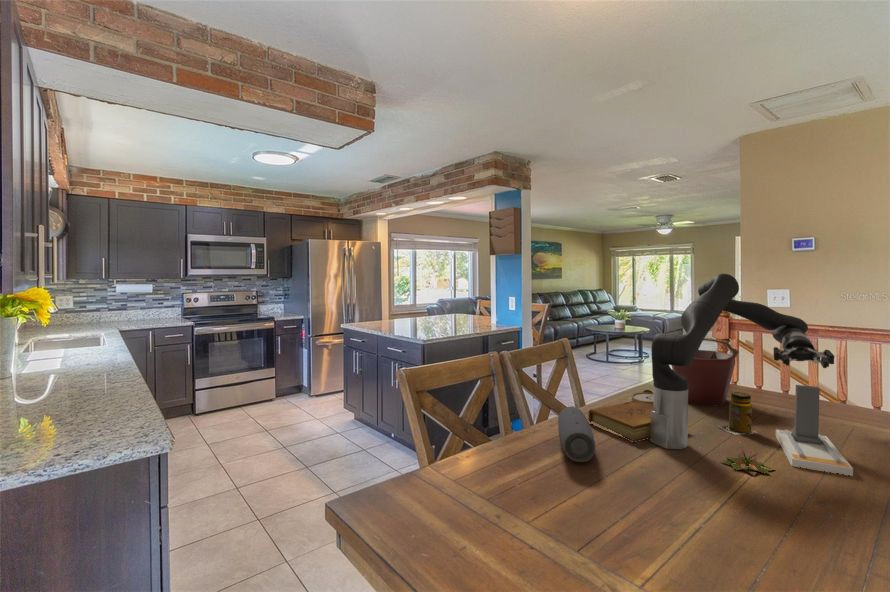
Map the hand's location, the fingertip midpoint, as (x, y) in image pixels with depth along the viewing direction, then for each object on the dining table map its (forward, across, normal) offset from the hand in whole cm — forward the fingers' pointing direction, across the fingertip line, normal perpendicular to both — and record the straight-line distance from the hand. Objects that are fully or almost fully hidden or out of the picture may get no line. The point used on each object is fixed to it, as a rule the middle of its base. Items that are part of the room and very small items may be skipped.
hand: (806, 363), depth 126 cm
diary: (+15, -46, +21) cm, 53 cm away
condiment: (+3, -17, +24) cm, 29 cm away
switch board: (+14, 0, +22) cm, 26 cm away
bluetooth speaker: (+43, -58, +15) cm, 74 cm away
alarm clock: (-14, -45, +26) cm, 54 cm away
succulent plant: (+32, -16, +19) cm, 40 cm away
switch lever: (+8, -1, +20) cm, 22 cm away
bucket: (-29, -28, +30) cm, 50 cm away
